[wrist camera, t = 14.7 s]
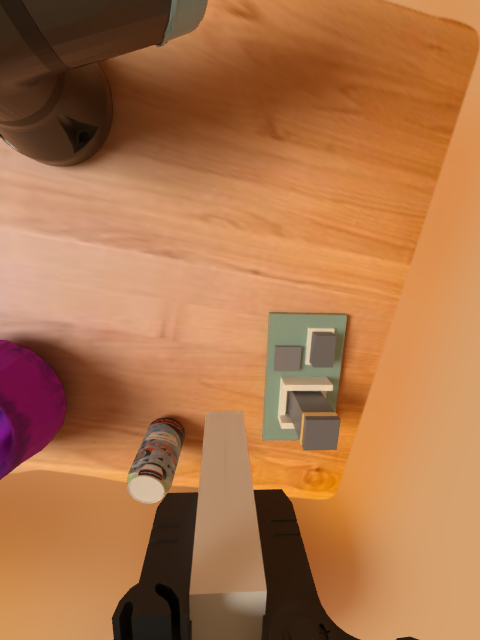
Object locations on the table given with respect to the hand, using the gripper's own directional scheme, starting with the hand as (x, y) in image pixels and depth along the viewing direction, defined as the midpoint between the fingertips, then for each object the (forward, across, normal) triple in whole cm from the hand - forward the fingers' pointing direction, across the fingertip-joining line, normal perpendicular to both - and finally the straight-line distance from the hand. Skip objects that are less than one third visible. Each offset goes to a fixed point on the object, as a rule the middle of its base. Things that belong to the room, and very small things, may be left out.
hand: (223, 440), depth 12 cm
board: (+34, +14, -13) cm, 39 cm away
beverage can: (+35, -9, -23) cm, 43 cm away
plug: (+33, +14, -16) cm, 39 cm away
